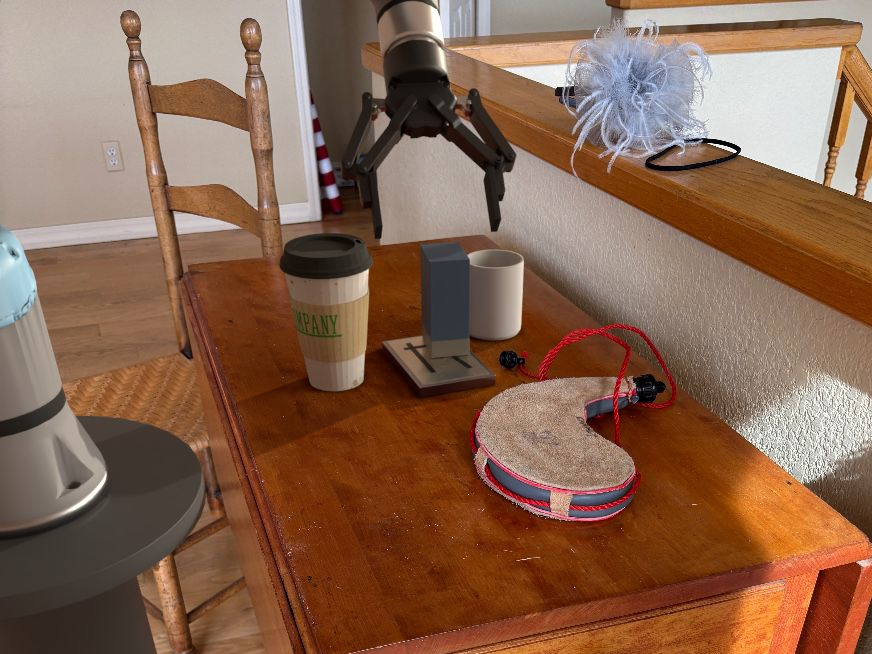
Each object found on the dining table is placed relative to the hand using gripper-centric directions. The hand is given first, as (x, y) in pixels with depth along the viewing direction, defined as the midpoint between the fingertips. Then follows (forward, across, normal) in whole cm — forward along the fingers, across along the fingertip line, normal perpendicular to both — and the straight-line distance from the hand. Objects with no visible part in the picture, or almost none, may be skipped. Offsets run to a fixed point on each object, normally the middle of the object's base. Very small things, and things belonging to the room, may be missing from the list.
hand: (438, 229), depth 106 cm
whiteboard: (+14, +2, -5) cm, 15 cm away
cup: (+7, -7, -13) cm, 16 cm away
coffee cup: (+15, +13, -4) cm, 21 cm away
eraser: (+11, 0, -6) cm, 13 cm away
